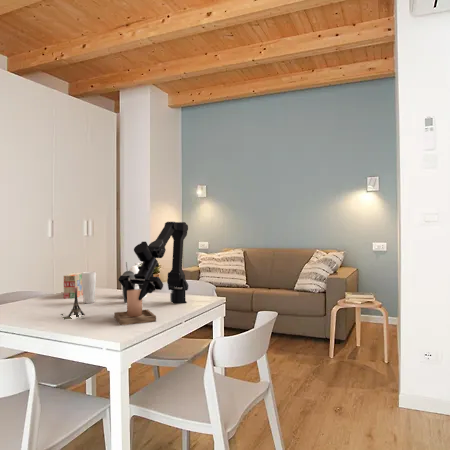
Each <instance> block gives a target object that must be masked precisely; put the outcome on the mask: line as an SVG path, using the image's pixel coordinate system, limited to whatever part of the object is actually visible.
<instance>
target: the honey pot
mask: <svg viewBox="0 0 450 450" xmlns="http://www.w3.org/2000/svg"><path fill="white" fill-rule="evenodd" d="M139 266H140V262H134V265H132V266H131V267H130V268H129V269H128V271H132V272H133V273H134V274H137V273H138V271H139V269H138V267H139ZM121 289H122V294H121V295H122V298H123V299H124V297H123V286H122V288H121ZM135 289H139V286H138V284H135ZM147 297H148V293H147V294H146V295H145V296H144V297H143V298H142V299H144V298H147Z"/></svg>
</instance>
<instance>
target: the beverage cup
mask: <svg viewBox="0 0 450 450" xmlns="http://www.w3.org/2000/svg"><path fill="white" fill-rule="evenodd" d="M125 267H126V268H125V269H126V271H124V272H123V273H122V274H121V275H129V276H130V278H131V279H135V277H134V275H135V274H134V273H133V272H132V271H129V269H128V262H127V261H125ZM122 287H123V286H122ZM133 287H134V289H135V284H133ZM122 291H123V297H124V298H123V297H122V298H123V303H124V304H127V299H126V298H125V288H124V287H123V290H122Z"/></svg>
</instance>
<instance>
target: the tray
mask: <svg viewBox="0 0 450 450" xmlns="http://www.w3.org/2000/svg"><path fill="white" fill-rule="evenodd" d="M113 318H114V320H115V321H116V322H117V324H118V325H119V326H123V325H124V326H125V325H135V324H145V323H152V322H153V323H154V322H155V323H156V322H157V316H156V315H155V314H154V313H153V312H151V311H150V310H149V309H142V315H141V316H137V317H129V316H127V310H126V311H117V312H113Z"/></svg>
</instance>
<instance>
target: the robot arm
mask: <svg viewBox="0 0 450 450" xmlns="http://www.w3.org/2000/svg"><path fill="white" fill-rule="evenodd" d="M188 231H189V225H188V224H187V223H186V222H183V221H178V222H176V221H166V222H165V223H164V227H163V228H162V230H161V231H160V233H159V234H158V235H157V237H156V239H154V241H151V242H150V243H149V244H148V243H147V241H141V243H138V244H137V245H136V246H135V247H134V248H133V252H134V254H135V255H136V256H137V258H138V260H139V261H140V262H142V263H141V265H139V266H137V267H138V269H139V271H138V273H137V274H135V275H134V277H135V279H131V278H130V276H129V275H122V274H121V275H120V276H119V277H118V279H117V280H118V282H119V283H120V285H121V286H122V287H124V288H125V298H126V299H127V290H131V289H134V287H133V284H138V286H139V289H141V292H140V295H139V300H141V299H142V300H143V299H144V298H145V297H144V296H145V295H146V294H147V295H148V294H152V293H153V292H154V291H158V290H159V291H162V290H163V288H164V283H163V281H162V279H161V278H160V277H159V276H154V271H155V268H159V267H160V265H159V262H158V260H157V259H162V258H163V257H164V255H165V253H166V252H167V251H166V245H167V244H168V242H169V240H170V238H172V240H173V243H172V265H171V270H170V272H168V273H167V279H166V280H167V283H166V284H167V289H168V291H171V292H170V299H169V300H170V303H171V304H175V305H176V304H186V303H188V302H187V301H186V291H188V290H189V284H188V282H187V280H186V274H185V271H183V259H184V258H183V257H184V256H183V255H184V254H183V253H184V241H185V239H186V237H187V236H188ZM143 297H144V298H143Z"/></svg>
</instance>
